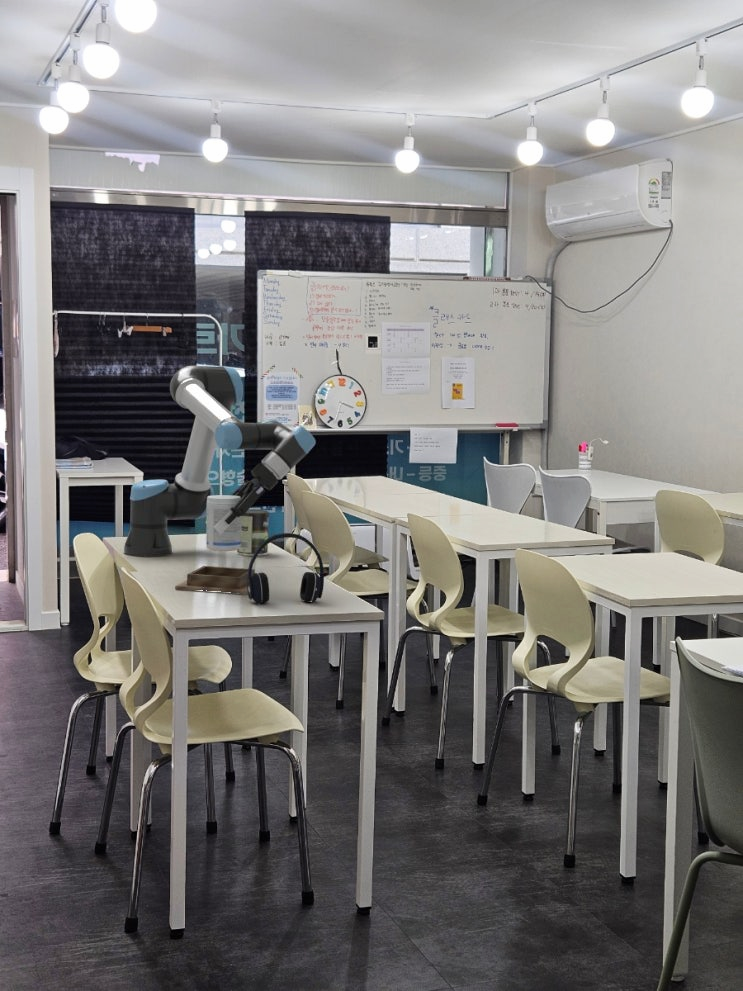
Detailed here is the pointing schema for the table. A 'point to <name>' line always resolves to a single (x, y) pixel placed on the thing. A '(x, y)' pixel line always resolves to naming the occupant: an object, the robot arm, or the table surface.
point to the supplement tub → (215, 512)
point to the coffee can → (254, 532)
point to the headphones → (310, 580)
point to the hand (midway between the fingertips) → (212, 528)
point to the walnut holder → (217, 580)
